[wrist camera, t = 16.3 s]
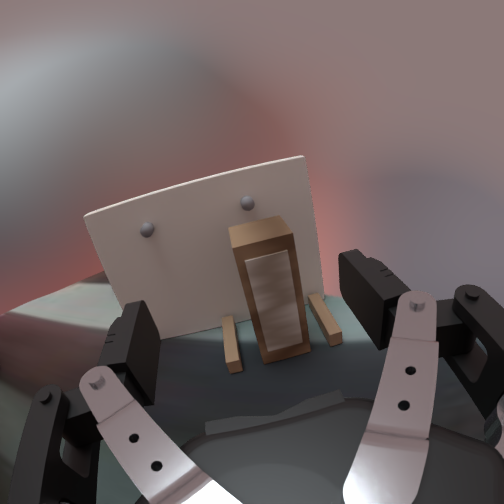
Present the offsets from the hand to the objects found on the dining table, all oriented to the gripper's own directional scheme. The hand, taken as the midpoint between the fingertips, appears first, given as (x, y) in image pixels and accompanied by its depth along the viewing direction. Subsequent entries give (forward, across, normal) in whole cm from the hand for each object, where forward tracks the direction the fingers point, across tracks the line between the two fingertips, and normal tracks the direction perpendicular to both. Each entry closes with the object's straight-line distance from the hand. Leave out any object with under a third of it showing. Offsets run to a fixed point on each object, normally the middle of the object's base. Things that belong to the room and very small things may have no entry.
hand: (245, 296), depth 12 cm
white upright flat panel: (+14, +2, +14) cm, 20 cm away
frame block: (+12, -2, +14) cm, 19 cm away
